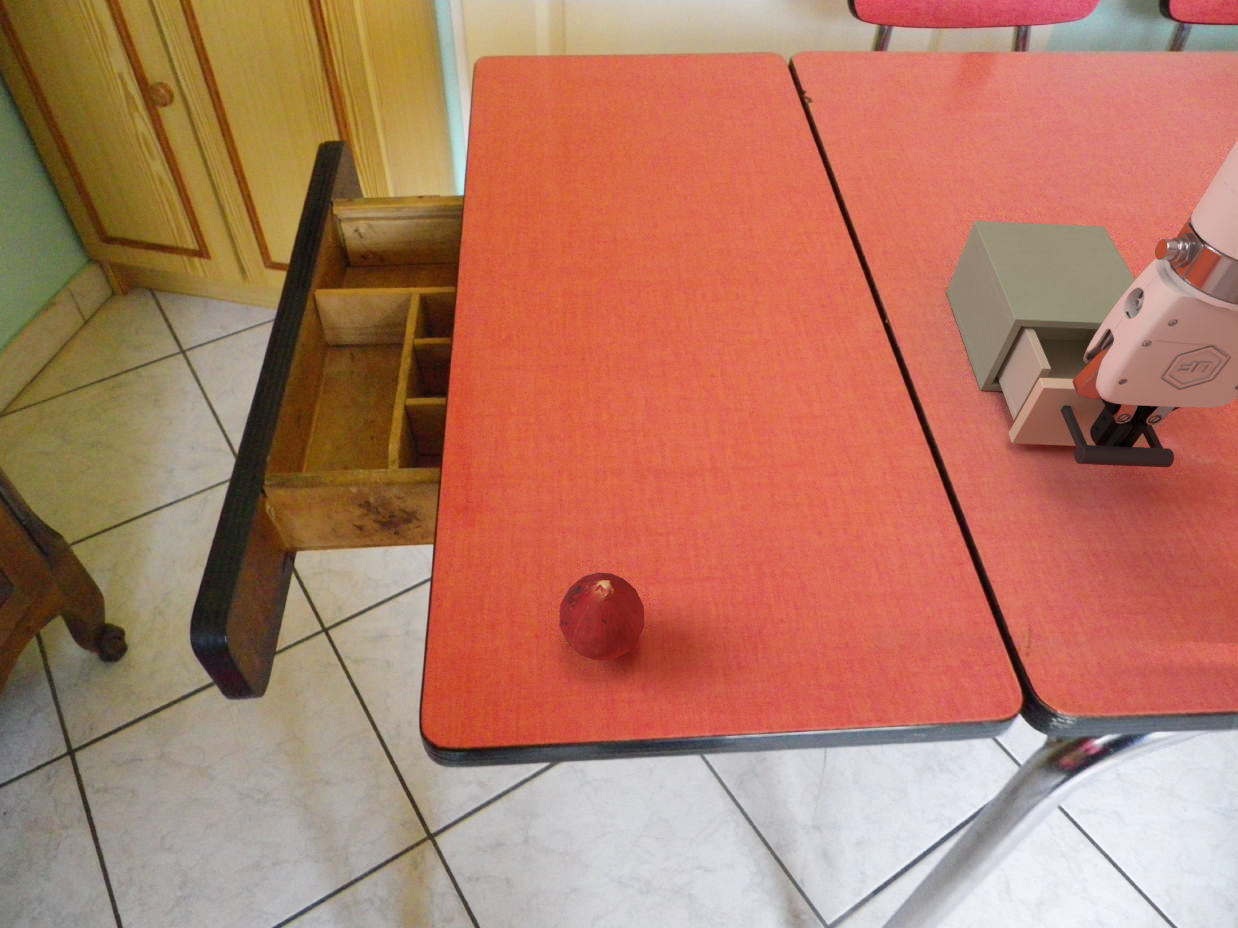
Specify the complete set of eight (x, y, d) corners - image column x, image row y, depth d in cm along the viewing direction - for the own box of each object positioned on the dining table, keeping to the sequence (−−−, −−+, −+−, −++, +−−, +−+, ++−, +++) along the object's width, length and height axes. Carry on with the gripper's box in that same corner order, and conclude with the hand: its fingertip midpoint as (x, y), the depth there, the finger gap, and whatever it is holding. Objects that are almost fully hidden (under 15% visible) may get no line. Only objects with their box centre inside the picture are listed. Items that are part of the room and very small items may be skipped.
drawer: (1169, 502, 70) (1215, 447, 65) (1030, 496, 70) (1066, 441, 65) (1091, 344, 82) (1125, 288, 77) (973, 339, 82) (999, 283, 77)
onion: (547, 661, 60) (542, 602, 54) (580, 596, 63) (580, 534, 57) (623, 692, 59) (627, 635, 52) (653, 624, 62) (660, 563, 56)
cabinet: (1115, 396, 79) (1162, 325, 72) (980, 390, 79) (1015, 319, 72) (1066, 297, 88) (1104, 226, 82) (945, 292, 88) (974, 220, 82)
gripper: (1143, 290, 53) (1026, 477, 67) (1382, 300, 53) (1216, 485, 67) (1102, 221, 58) (1001, 408, 72) (1321, 230, 58) (1178, 416, 72)
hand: (1105, 445), depth 69 cm, fingers closed
